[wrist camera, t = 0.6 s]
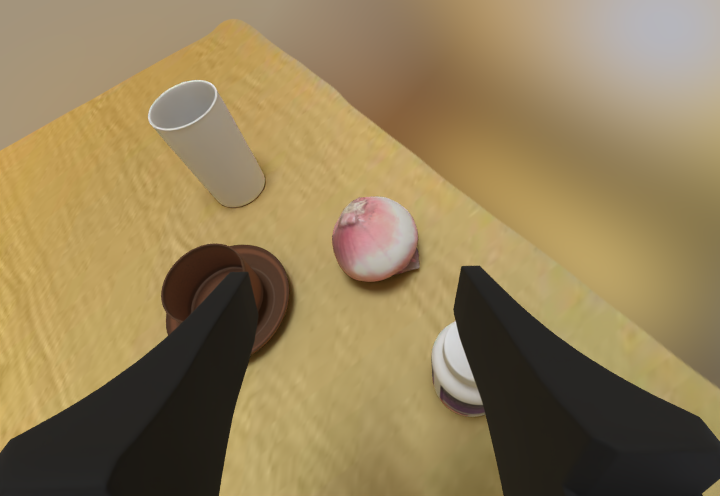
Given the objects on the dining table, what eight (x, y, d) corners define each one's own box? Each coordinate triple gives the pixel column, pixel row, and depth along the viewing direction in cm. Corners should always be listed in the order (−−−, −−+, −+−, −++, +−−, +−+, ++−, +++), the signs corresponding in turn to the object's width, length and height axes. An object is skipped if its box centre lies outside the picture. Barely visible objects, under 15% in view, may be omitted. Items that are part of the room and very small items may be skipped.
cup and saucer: (289, 367, 33) (261, 348, 27) (164, 374, 34) (115, 357, 29) (299, 248, 39) (277, 214, 33) (192, 259, 40) (155, 228, 35)
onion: (374, 212, 39) (362, 165, 33) (438, 245, 36) (438, 200, 30) (326, 269, 37) (304, 230, 31) (390, 311, 33) (379, 276, 27)
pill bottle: (518, 397, 28) (551, 369, 20) (455, 430, 28) (463, 415, 20) (477, 334, 31) (492, 287, 23) (420, 364, 31) (414, 326, 22)
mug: (274, 194, 43) (223, 110, 33) (220, 219, 43) (151, 141, 32) (253, 141, 48) (203, 54, 38) (204, 162, 48) (141, 80, 38)
